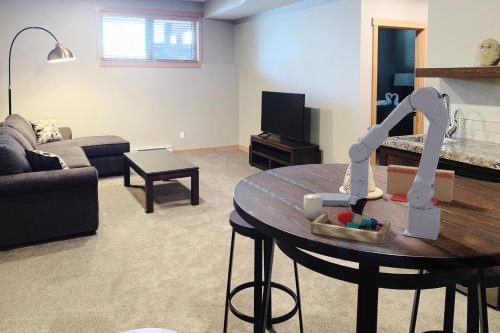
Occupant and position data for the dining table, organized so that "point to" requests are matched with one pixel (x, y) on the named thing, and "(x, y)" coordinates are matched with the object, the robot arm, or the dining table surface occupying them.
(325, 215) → the wooden tray
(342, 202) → the slate box
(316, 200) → the cream rounded block
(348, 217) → the toy figure
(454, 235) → the dining table surface
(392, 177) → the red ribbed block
